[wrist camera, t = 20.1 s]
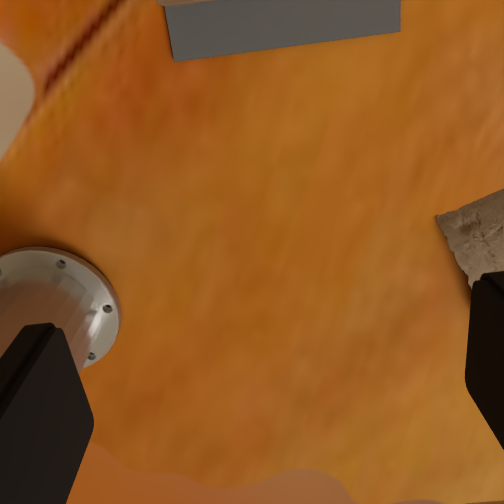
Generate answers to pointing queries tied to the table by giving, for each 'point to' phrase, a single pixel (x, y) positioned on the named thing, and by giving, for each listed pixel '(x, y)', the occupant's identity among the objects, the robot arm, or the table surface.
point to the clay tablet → (477, 235)
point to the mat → (273, 24)
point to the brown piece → (179, 2)
